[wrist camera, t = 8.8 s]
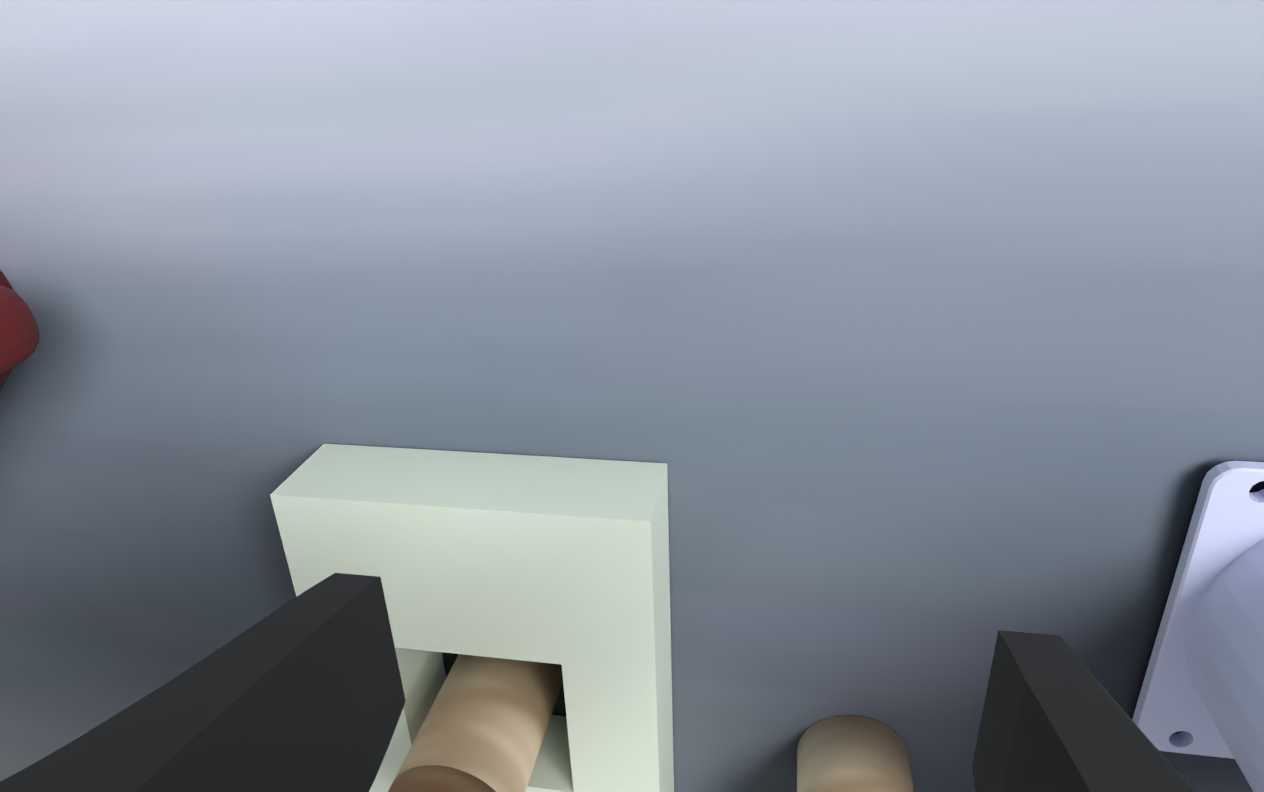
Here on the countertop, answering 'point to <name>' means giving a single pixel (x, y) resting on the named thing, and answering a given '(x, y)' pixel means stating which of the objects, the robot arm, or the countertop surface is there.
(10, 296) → the mug
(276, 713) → the robot arm
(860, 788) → the dowel short
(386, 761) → the board
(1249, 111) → the countertop surface
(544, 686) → the dowel medium
